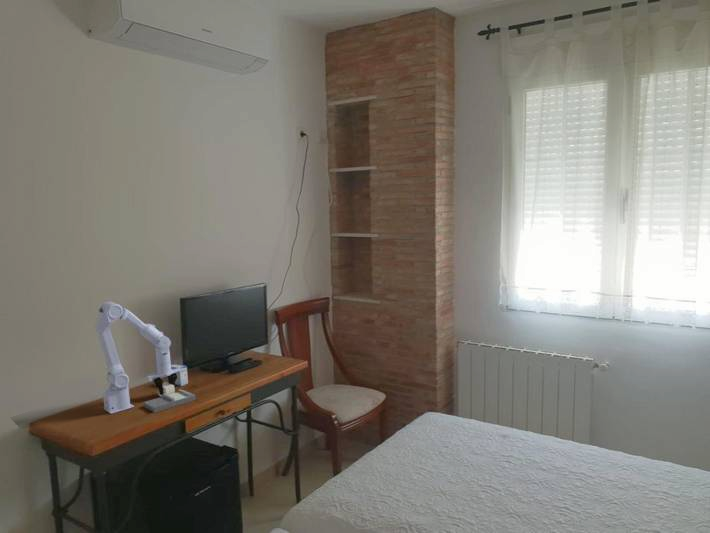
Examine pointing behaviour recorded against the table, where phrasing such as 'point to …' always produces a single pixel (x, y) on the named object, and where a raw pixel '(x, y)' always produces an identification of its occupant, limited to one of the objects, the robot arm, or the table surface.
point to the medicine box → (181, 375)
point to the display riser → (169, 401)
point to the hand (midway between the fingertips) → (166, 392)
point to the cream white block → (167, 389)
